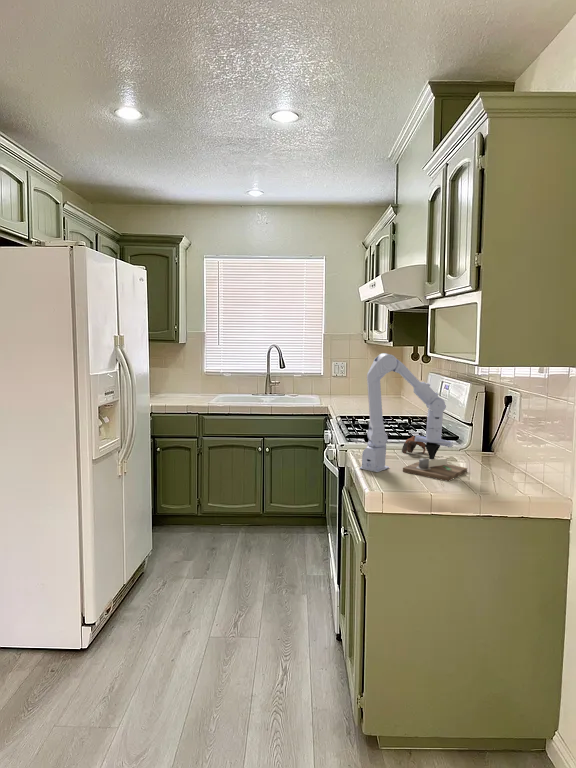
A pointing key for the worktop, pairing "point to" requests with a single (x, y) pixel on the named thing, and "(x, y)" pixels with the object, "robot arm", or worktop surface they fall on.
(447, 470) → the brown flat square board
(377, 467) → the robot arm
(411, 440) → the pottery mug
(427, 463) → the peg lever
